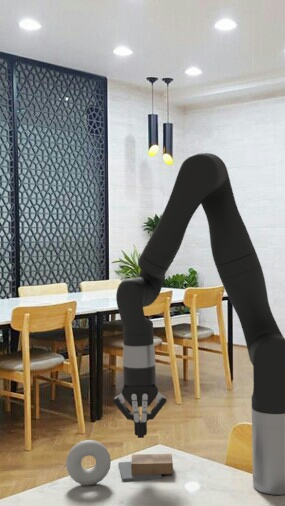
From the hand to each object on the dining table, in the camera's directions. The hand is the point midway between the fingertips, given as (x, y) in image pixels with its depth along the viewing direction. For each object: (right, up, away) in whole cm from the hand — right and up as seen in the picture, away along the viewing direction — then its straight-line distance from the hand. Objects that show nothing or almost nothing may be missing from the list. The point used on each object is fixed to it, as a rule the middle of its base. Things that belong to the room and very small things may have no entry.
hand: (141, 436), depth 142 cm
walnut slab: (-2, -7, 0) cm, 7 cm away
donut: (-12, -9, -6) cm, 16 cm away
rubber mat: (0, -8, +1) cm, 8 cm away
